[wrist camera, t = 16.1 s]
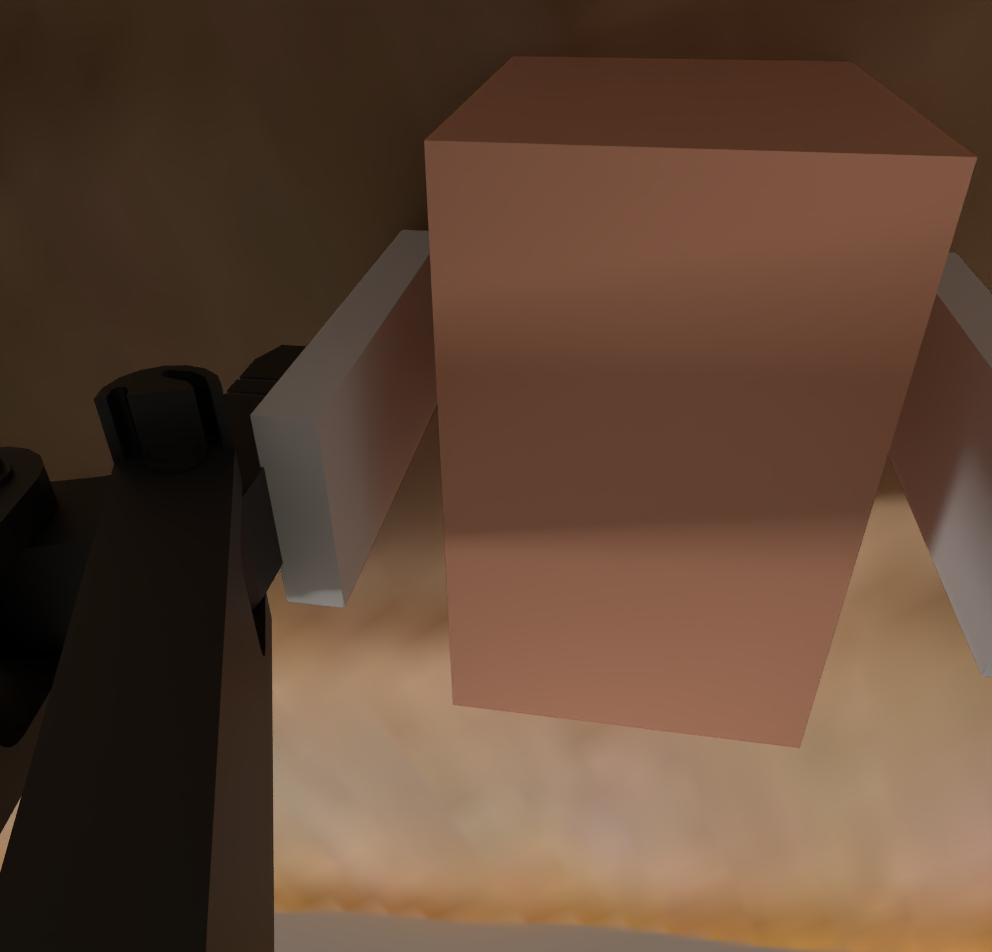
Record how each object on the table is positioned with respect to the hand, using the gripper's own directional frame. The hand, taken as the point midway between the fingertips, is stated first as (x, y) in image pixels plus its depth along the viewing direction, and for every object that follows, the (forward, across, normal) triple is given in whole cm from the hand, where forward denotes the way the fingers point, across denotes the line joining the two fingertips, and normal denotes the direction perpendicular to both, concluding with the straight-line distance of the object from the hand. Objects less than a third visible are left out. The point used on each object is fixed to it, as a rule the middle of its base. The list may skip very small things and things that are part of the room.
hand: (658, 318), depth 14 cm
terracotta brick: (0, 0, 0) cm, 0 cm away
